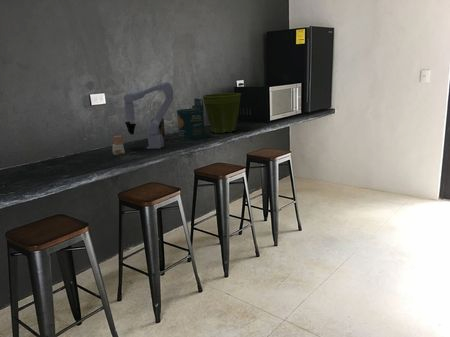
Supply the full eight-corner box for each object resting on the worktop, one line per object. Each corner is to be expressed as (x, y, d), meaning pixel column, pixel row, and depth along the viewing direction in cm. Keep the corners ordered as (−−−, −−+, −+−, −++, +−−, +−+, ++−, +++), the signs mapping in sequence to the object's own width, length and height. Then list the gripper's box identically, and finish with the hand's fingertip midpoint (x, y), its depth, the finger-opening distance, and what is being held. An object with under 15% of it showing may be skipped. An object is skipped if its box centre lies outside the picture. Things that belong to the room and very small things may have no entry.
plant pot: (219, 127, 318) (217, 93, 311) (249, 129, 301) (248, 93, 293) (197, 133, 295) (194, 96, 288) (228, 136, 278) (226, 96, 270)
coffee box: (161, 142, 268) (159, 119, 264) (152, 142, 269) (150, 119, 265) (165, 139, 276) (163, 117, 272) (157, 139, 278) (155, 117, 274)
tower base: (123, 152, 243) (122, 147, 243) (124, 153, 238) (124, 149, 237) (112, 153, 241) (112, 148, 240) (114, 155, 235) (113, 150, 234)
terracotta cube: (120, 143, 241) (119, 135, 240) (123, 143, 238) (122, 136, 237) (113, 144, 238) (112, 136, 237) (117, 145, 235) (116, 137, 234)
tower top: (121, 147, 242) (120, 143, 241) (123, 149, 237) (123, 144, 236) (112, 149, 239) (112, 144, 238) (115, 150, 234) (114, 145, 234)
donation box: (205, 138, 272) (203, 99, 265) (184, 141, 266) (181, 101, 258) (197, 135, 286) (194, 98, 279) (177, 138, 280) (173, 100, 272)
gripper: (121, 111, 248) (123, 132, 251) (124, 114, 235) (126, 135, 238) (132, 111, 250) (134, 131, 254) (136, 113, 237) (137, 134, 241)
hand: (131, 133), depth 246 cm, fingers open, 7 cm apart
